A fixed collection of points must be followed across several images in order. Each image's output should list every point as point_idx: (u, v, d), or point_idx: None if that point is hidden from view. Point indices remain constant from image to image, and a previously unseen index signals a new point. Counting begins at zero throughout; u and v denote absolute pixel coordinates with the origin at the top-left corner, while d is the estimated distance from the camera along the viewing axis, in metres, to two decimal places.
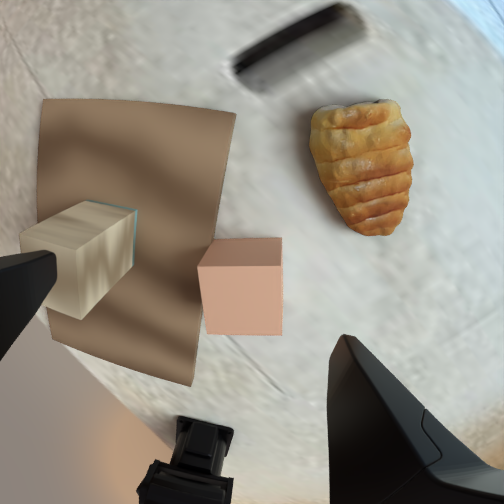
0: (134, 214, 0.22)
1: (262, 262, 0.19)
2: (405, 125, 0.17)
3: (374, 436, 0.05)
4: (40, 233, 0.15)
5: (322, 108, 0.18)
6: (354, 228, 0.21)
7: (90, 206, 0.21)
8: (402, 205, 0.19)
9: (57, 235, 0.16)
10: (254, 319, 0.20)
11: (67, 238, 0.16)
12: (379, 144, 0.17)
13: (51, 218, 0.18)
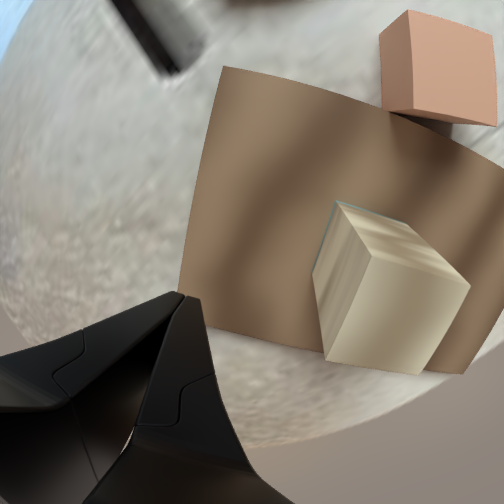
0: (340, 203, 0.17)
1: (406, 32, 0.11)
2: None
3: None
4: (334, 324, 0.12)
5: None
6: None
7: (320, 263, 0.17)
8: None
9: (344, 296, 0.12)
10: (476, 58, 0.10)
11: (352, 277, 0.11)
12: None
13: (320, 313, 0.14)
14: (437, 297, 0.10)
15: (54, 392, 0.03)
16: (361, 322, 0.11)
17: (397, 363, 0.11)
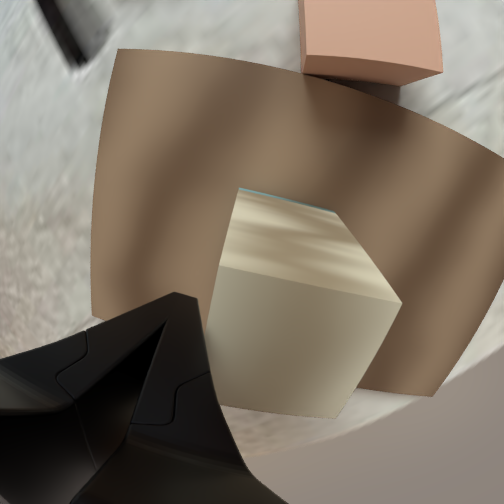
0: (244, 191, 0.14)
1: None
2: None
3: None
4: None
5: None
6: None
7: None
8: None
9: None
10: None
11: None
12: None
13: None
14: (344, 322, 0.07)
15: (57, 394, 0.03)
16: (227, 357, 0.08)
17: (297, 406, 0.09)
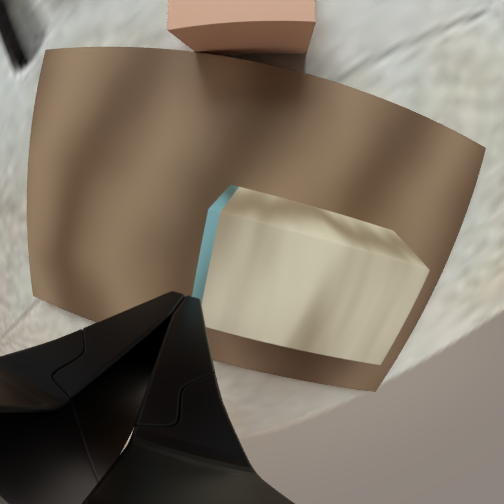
0: (221, 210, 0.10)
1: None
2: None
3: None
4: (377, 339, 0.11)
5: None
6: None
7: (228, 306, 0.11)
8: None
9: (384, 314, 0.11)
10: None
11: (393, 295, 0.11)
12: None
13: (313, 348, 0.12)
14: None
15: (53, 392, 0.03)
16: None
17: None
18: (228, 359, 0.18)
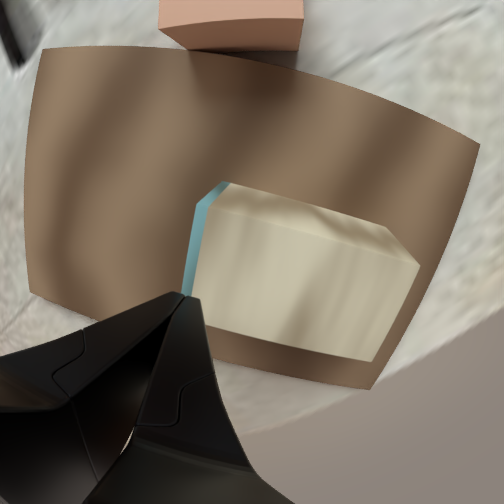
0: (209, 205, 0.10)
1: None
2: None
3: None
4: (368, 336, 0.11)
5: None
6: None
7: (217, 300, 0.11)
8: None
9: (375, 310, 0.11)
10: None
11: (383, 291, 0.11)
12: None
13: (303, 344, 0.12)
14: None
15: (54, 393, 0.03)
16: None
17: None
18: (221, 356, 0.18)
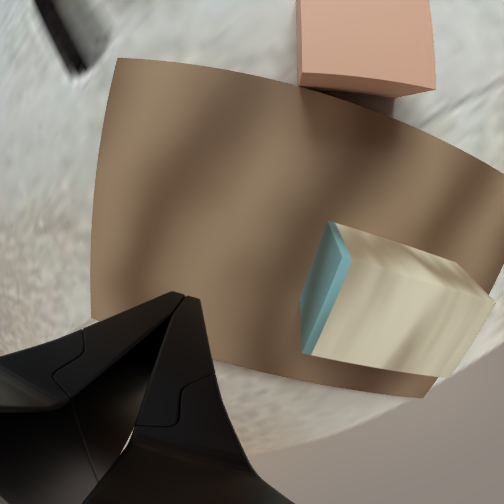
0: (350, 257, 0.11)
1: None
2: None
3: None
4: (451, 358, 0.12)
5: None
6: None
7: (343, 338, 0.12)
8: None
9: (460, 338, 0.12)
10: (399, 5, 0.08)
11: (468, 323, 0.11)
12: None
13: (403, 368, 0.13)
14: None
15: (53, 392, 0.03)
16: None
17: None
18: (301, 376, 0.19)
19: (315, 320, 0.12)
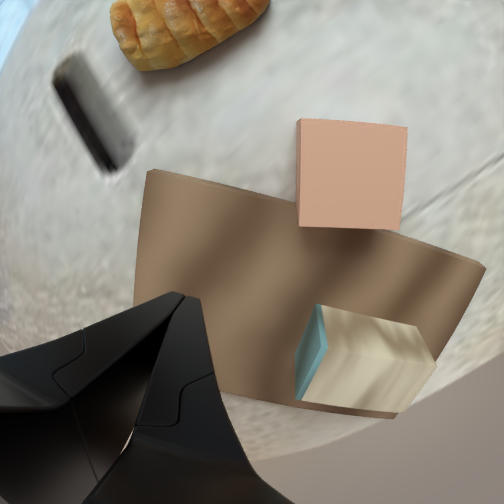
0: (327, 345, 0.17)
1: (300, 142, 0.14)
2: None
3: None
4: (403, 400, 0.18)
5: None
6: (257, 6, 0.14)
7: (322, 390, 0.18)
8: None
9: (408, 388, 0.17)
10: (380, 161, 0.13)
11: (414, 379, 0.17)
12: (147, 0, 0.12)
13: (366, 407, 0.18)
14: None
15: (54, 392, 0.03)
16: None
17: None
18: (296, 404, 0.24)
19: (303, 380, 0.18)
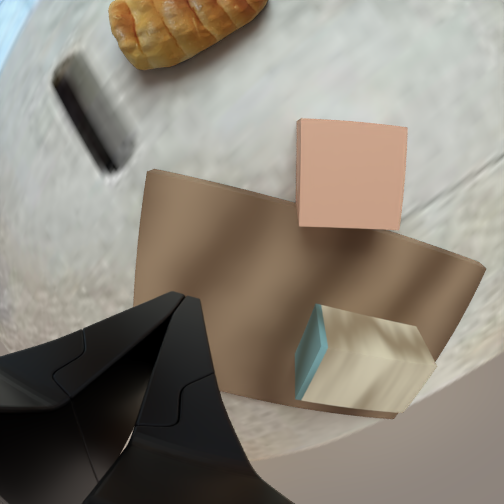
0: (327, 345, 0.17)
1: (300, 142, 0.14)
2: None
3: None
4: (403, 400, 0.18)
5: None
6: (255, 3, 0.14)
7: (322, 390, 0.18)
8: None
9: (408, 388, 0.17)
10: (380, 161, 0.13)
11: (414, 379, 0.17)
12: None
13: (366, 407, 0.18)
14: None
15: (54, 392, 0.03)
16: None
17: None
18: (296, 404, 0.24)
19: (303, 380, 0.18)
